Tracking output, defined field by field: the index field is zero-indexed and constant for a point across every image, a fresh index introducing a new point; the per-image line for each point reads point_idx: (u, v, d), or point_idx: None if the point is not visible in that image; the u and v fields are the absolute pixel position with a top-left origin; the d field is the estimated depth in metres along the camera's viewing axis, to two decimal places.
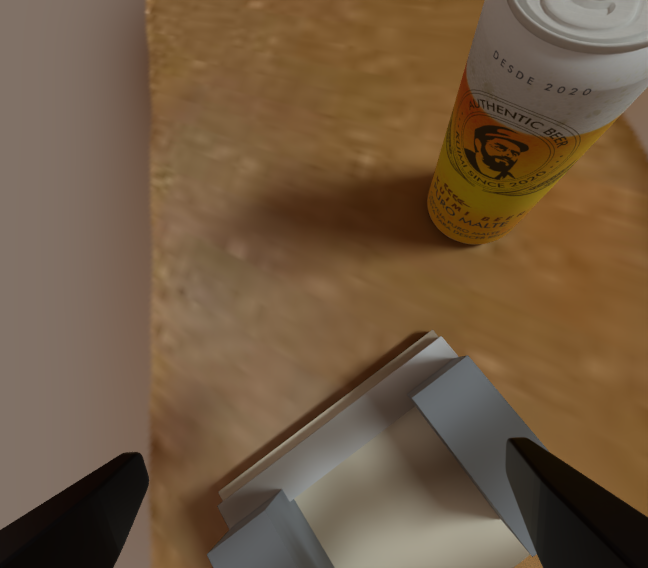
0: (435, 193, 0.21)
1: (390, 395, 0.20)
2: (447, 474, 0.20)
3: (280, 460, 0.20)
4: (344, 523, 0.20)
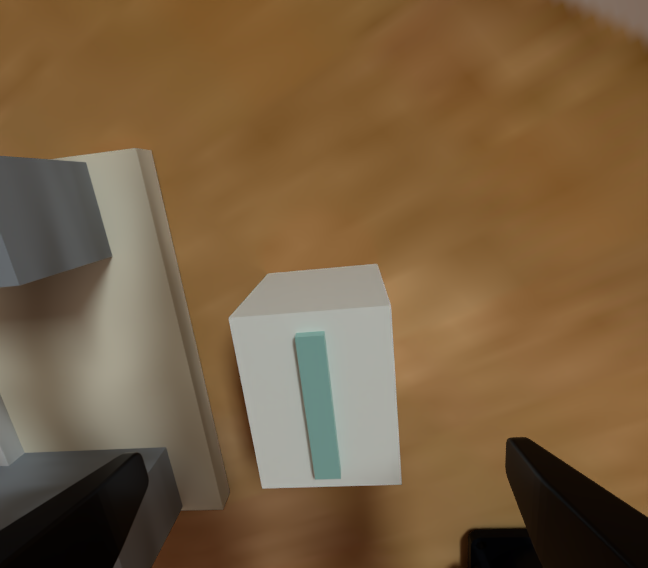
0: None
1: None
2: (44, 284, 0.14)
3: None
4: (65, 419, 0.16)
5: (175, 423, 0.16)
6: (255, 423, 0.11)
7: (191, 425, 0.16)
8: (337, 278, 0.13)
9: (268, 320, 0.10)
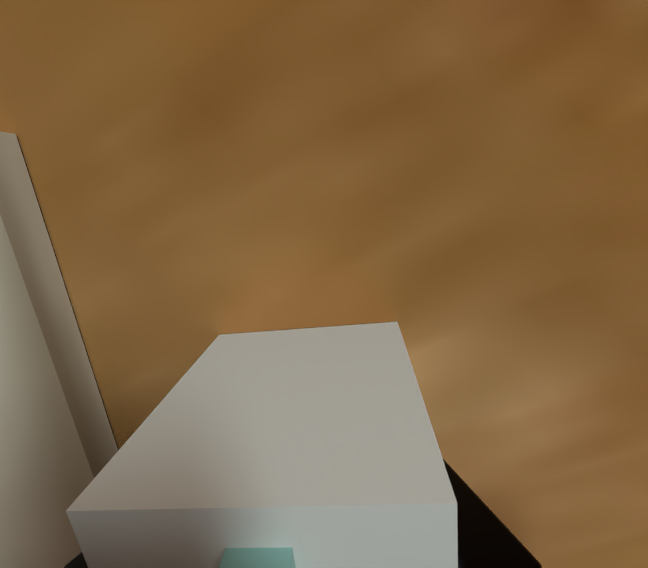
0: None
1: None
2: None
3: None
4: None
5: None
6: None
7: None
8: (329, 362, 0.07)
9: (158, 520, 0.04)
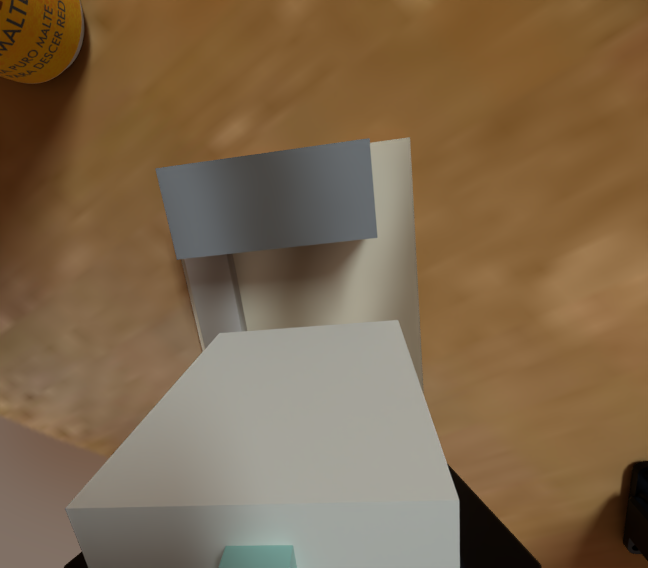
0: None
1: (203, 263, 0.17)
2: (309, 250, 0.18)
3: None
4: None
5: None
6: None
7: None
8: (330, 360, 0.07)
9: (157, 517, 0.04)
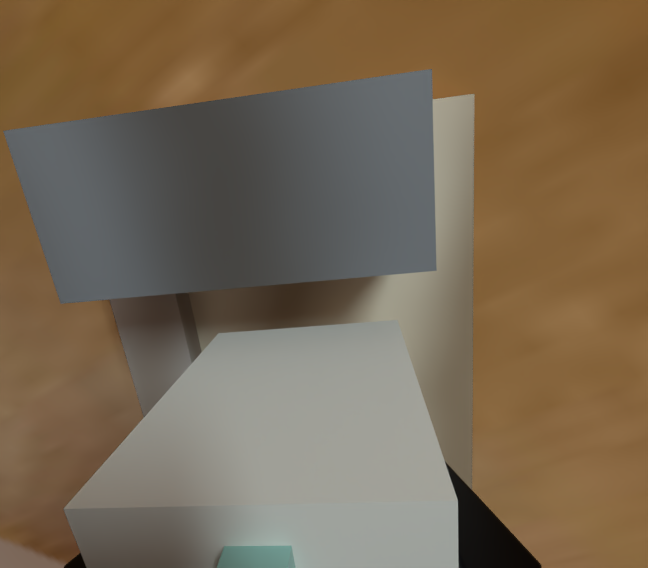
0: None
1: None
2: None
3: None
4: None
5: None
6: None
7: (457, 451, 0.13)
8: (329, 360, 0.07)
9: (156, 517, 0.04)
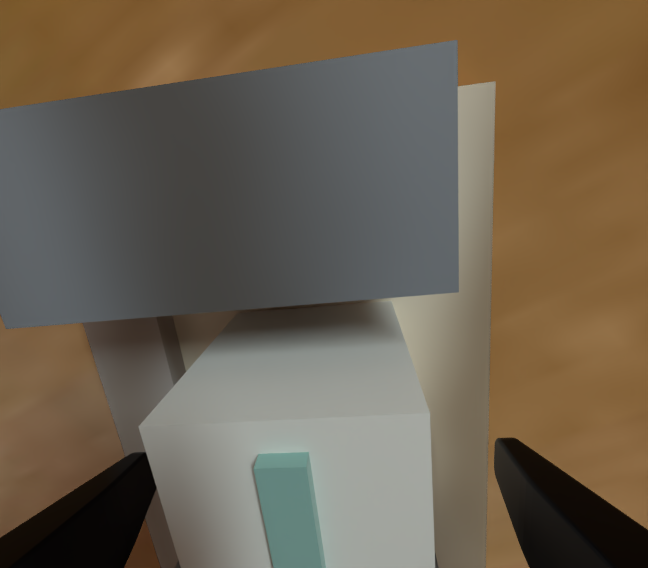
0: None
1: None
2: None
3: (148, 519, 0.12)
4: None
5: (447, 479, 0.11)
6: None
7: (470, 482, 0.11)
8: (333, 330, 0.08)
9: (208, 431, 0.05)
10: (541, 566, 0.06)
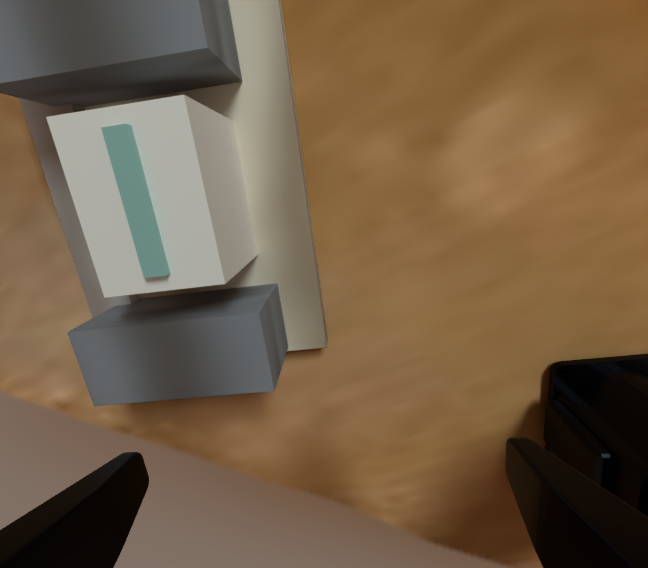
0: None
1: (49, 128, 0.15)
2: None
3: (87, 293, 0.17)
4: None
5: (288, 257, 0.17)
6: (87, 227, 0.12)
7: (303, 258, 0.17)
8: None
9: (81, 117, 0.11)
10: (556, 566, 0.06)
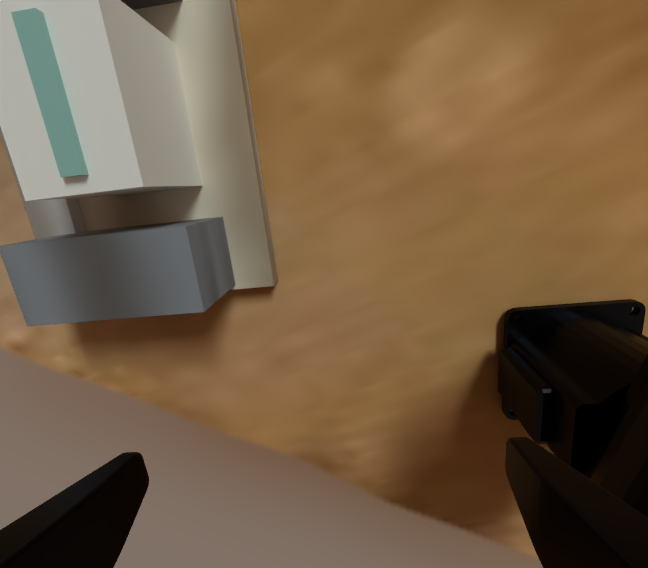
0: None
1: None
2: None
3: (32, 222, 0.17)
4: None
5: (233, 188, 0.17)
6: (5, 124, 0.12)
7: (248, 190, 0.17)
8: None
9: None
10: (556, 566, 0.06)
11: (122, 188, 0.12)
